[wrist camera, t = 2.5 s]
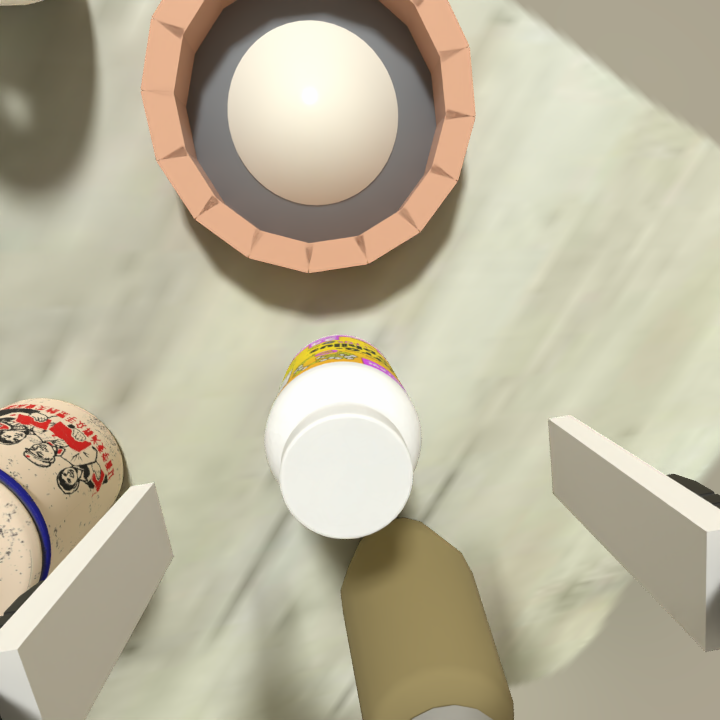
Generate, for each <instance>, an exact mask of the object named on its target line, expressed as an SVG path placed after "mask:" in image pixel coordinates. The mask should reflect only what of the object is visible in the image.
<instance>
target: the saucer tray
mask: <svg viewBox="0 0 720 720" xmlns="http://www.w3.org/2000/svg"><path fill="white" fill-rule="evenodd" d="M152 18H153V19H151V23H150V30H149V37H148V43H147V50H146V57H145V64H144V70H143V77H142V84H141V90H142V91H141V95H142V99H143V103H144V108H145V112H146V117H147V121H148V126H149V130H150V134H151V139H152V143H153V148H154V152H155V157H156V160H157V161H158V162H157V163H158V164H159V166H160V167H161V169H162V170H163V172H164V173H165V175H166V176H167V178H168V179H169V181H170V182H171V184H172V186H173V187H174V189H175V190H176V192H177V193H178V195H179V196H180V198H181V199H182V201H183V202H184V204H185V205H186V207H187V208H188V210H189V211H190V213H191V215H192V216H193V218H194V219H196V221H198V222H199V223H200V224H202V225H203V226H204V227H206V228H207V229H209V230H210V231H211V232H213V233H214V234H216V235H217V236H218V237H220V238H221V239H222V240H224V241H225V242H227V243H228V244H229V245H231V246H232V247H233V248H235V249H236V250H238V251H239V252H240V253H242V254H243V255H245V256H246V257H247V258H250V259H254V260H258V261H262V262H266V263H270V264H274V265H278V266H282V267H286V268H290V269H294V270H298V271H302V272H306V273H313V272H320V271H326V270H333V269H339V268H346V267H353V266H359V265H366V264H369V263H371V262H373V261H374V260H376V259H377V258H379V257H381V256H382V255H384V254H386V253H387V252H389V251H391V250H392V249H394V248H395V247H397V246H399V245H400V244H402V243H404V242H405V241H407V240H409V239H410V238H412V237H413V236H415V235H417V234H418V233H420V232H421V231H422V229H423V228H424V227H425V225H426V224H427V223H428V221H429V220H430V218H431V217H432V216H433V214H434V213H435V212H436V210H437V209H438V208H439V206H440V205H441V203H442V202H443V201H444V199H445V198H446V197H447V195H448V194H449V193H450V191H451V190H452V189H453V187H454V186H455V184H456V183H457V181H458V179H459V175H460V172H461V168H462V165H463V161H464V157H465V154H466V150H467V146H468V143H469V139H470V135H471V132H472V128H473V124H474V121H475V116H476V115H475V103H474V92H473V80H472V69H471V57H470V47H469V44H468V42H467V40H466V38H465V36H464V34H463V31H462V29H461V27H460V25H459V23H458V21H457V19H456V17H455V15H454V12H453V10H452V8H451V6H450V4H449V2H448V0H162V1H161V2H160V4H159V6H158V7H157V9H156V11H155V12H154V14H153V16H152Z"/></svg>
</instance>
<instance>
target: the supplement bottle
mask: <svg viewBox="0 0 720 720" xmlns="http://www.w3.org/2000/svg"><path fill="white" fill-rule="evenodd" d="M264 441H265V453H266V458H267V461H268V465H269V467H270V469H271V472H272V474H273V476H274V477H275V479H276V480H277V482H278V484H279V485H280V489H281V494H282V497H283V499H284V502H285V504H286V506H287V507H288V509H289V511H290V512H291V514H292V515H293V516H294V517H295V518H296V519H297V520H298V521H299V522H300V523H301V524H302V525H303V526H305V527H306V528H308V529H309V530H311V531H313V532H315V533H317V534H320V535H322V536H326V537H330V538H336V539H354V538H360V537H363V536H367V535H370V534H372V533H375V532H377V531H379V530H381V529H382V528H384V527H385V526H387V525H388V524H389V523H390V522H392V521H393V520H394V519H395V518H396V517H397V516H398V514H399V513H400V512H401V511H402V509H403V508H404V506H405V504H406V503H407V501H408V498H409V496H410V493H411V489H412V484H413V473H414V470H415V468H416V465H417V462H418V459H419V455H420V451H421V442H422V438H421V426H420V421H419V417H418V414H417V411H416V409H415V407H414V405H413V403H412V401H411V399H410V397H409V396H408V394H407V393H406V391H405V389H404V388H403V386H402V384H401V383H400V381H399V380H398V378H397V376H396V375H395V373H394V371H393V369H392V368H391V366H390V364H389V363H388V361H387V360H386V358H385V357H384V356H383V354H382V353H381V352H380V351H379V350H378V349H377V348H376V347H375V346H373V345H372V344H371V343H369V342H367V341H365V340H363V339H361V338H358V337H355V336H351V335H340V334H339V335H329V336H325V337H322V338H319V339H317V340H315V341H313V342H311V343H309V344H308V345H306V346H305V347H304V348H303V349H302V350H301V351H300V352H299V353H298V354H297V355H296V356H295V358H294V359H293V360H292V362H291V364H290V366H289V368H288V370H287V372H286V374H285V377H284V379H283V382H282V384H281V386H280V388H279V391H278V394H277V396H276V398H275V400H274V403H273V405H272V407H271V410H270V413H269V417H268V420H267V424H266V429H265V438H264Z"/></svg>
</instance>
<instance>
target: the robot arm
mask: <svg viewBox="0 0 720 720" xmlns="http://www.w3.org/2000/svg"><path fill="white" fill-rule="evenodd" d="M548 426H549V441H550V457H551V472H552V488H553V494H554V495H555V496H556V497H557V498H558V499H559V500H560V502H561V503H562V504H563V505H564V506H565V507H566V508H567V509H568V510H569V511H570V512H571V513H572V514H573V515H574V516H575V517H576V518H577V519H578V520H579V521H580V522H581V523H582V524H583V525H584V526H585V527H586V529H587V530H588V531H589V532H590V533H591V534H592V535H593V536H594V537H595V538H596V539H597V540H598V541H599V542H600V543H601V544H602V545H603V546H604V547H605V548H606V549H607V550H608V551H609V552H610V553H611V555H612V556H613V557H614V558H615V559H616V560H617V561H618V562H619V563H620V564H621V565H622V566H623V567H624V568H625V569H626V570H627V571H628V572H629V573H630V574H631V575H632V576H633V577H634V578H635V579H636V580H637V581H638V583H639V584H640V585H641V586H643V588H644V589H645V590H646V591H647V592H648V593H649V594H650V595H651V596H652V597H653V598H654V599H655V600H656V601H657V602H658V603H659V604H660V605H661V606H662V607H663V608H664V609H665V611H666V612H667V613H668V614H669V615H670V616H671V617H672V618H673V619H674V620H675V621H676V622H677V623H678V624H679V625H680V626H681V627H682V628H683V629H684V630H685V631H686V632H687V633H688V634H689V636H690V637H691V638H692V639H693V640H694V641H695V642H696V643H697V644H698V645H699V646H700V647H701V648H702V649H703V650H704V651H705V652H707V651H713V650H719V649H720V495H718V494H714V492H713V491H712V490H710V489H708V488H707V487H705V486H703V485H702V484H700V483H698V482H696V481H694V480H691V479H688V478H685V477H682V476H679V475H676V474H670V475H665V474H663V473H662V472H660V471H658V470H657V469H655V468H654V467H652V466H651V465H649V464H647V463H646V462H644V461H643V460H641V459H639V458H638V457H636V456H635V455H633V454H632V453H630V452H628V451H627V450H625V449H624V448H622V447H620V446H619V445H617V444H616V443H614V442H613V441H611V440H609V439H608V438H606V437H605V436H603V435H601V434H600V433H598V432H597V431H595V430H594V429H592V428H590V427H589V426H587V425H586V424H584V423H582V422H581V421H579V420H578V419H576V418H574V417H573V416H571V415H567V416H561V417H555V418H549V419H548ZM173 557H174V555H173V551H172V548H171V544H170V540H169V536H168V532H167V529H166V525H165V521H164V517H163V513H162V510H161V506H160V502H159V498H158V494H157V491H156V487H155V483H154V482H153V483H147V484H141V485H135V486H130V488H129V489H128V490H127V491H126V492H125V493H124V494H123V495H122V496H121V497H120V499H119V500H118V501H117V502H116V503H115V504H114V505H113V506H112V507H111V508H110V509H109V511H108V512H107V513H106V514H105V515H104V516H103V517H102V518H101V519H100V520H99V522H98V523H97V524H96V525H95V526H94V527H93V528H92V529H91V530H90V531H89V532H88V534H87V535H86V536H85V537H84V538H83V539H82V540H81V541H80V542H79V543H78V544H77V546H76V547H75V548H74V549H73V550H72V551H71V552H70V553H69V554H68V555H67V557H66V558H65V559H64V560H63V561H62V562H61V563H60V564H59V565H58V566H57V567H56V569H55V570H54V571H53V572H52V573H51V574H50V575H49V576H48V577H47V578H46V579H45V580H42V581H40V582H38V583H37V584H35V585H34V586H33V587H31V588H30V589H29V590H27V591H26V592H24V593H23V594H22V595H20V596H19V597H18V598H17V599H16V600H15V601H14V602H13V603H12V604H11V605H10V607H9V608H8V609H7V610H6V611H5V612H4V615H3V616H0V720H85V719H86V717H87V715H88V713H89V711H90V710H91V708H92V706H93V704H94V702H95V700H96V699H97V697H98V695H99V693H100V691H101V689H102V688H103V686H104V684H105V682H106V680H107V678H108V677H109V675H110V673H111V671H112V669H113V667H114V666H115V664H116V662H117V660H118V658H119V656H120V655H121V653H122V651H123V649H124V647H125V645H126V644H127V642H128V640H129V638H130V636H131V634H132V633H133V631H134V629H135V627H136V625H137V623H138V622H139V620H140V618H141V616H142V614H143V612H144V611H145V609H146V607H147V605H148V603H149V601H150V600H151V598H152V596H153V594H154V592H155V590H156V588H157V587H158V585H159V583H160V581H161V579H162V577H163V576H164V574H165V572H166V570H167V568H168V566H169V565H170V563H171V561H172V559H173Z"/></svg>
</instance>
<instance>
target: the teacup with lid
mask: <svg viewBox="0 0 720 720" xmlns="http://www.w3.org/2000/svg"><path fill="white" fill-rule="evenodd" d="M122 480H123V461H122V456H121V453H120V449H119V447H118V445H117V442H116V441H115V439H114V437H113V436H112V434H111V433H110V431H109V430H108V429H107V428H106V426H105V425H104V424H103V423H102V422H101V421H100V420H98V419H97V418H96V417H95V416H93V415H92V414H91V413H89V412H88V411H86V410H84V409H82V408H80V407H78V406H76V405H73V404H71V403H68V402H64V401H60V400H55V399H46V398H36V399H27V400H22V401H18V402H15V403H12V404H10V405H7V406H5V407H3V408H0V616H3V615H4V612H5V611H6V610H7V609H8V608H9V607H10V605H11V604H12V603H13V602H14V601H15V600H16V599H17V598H18V597H19V596H20V595H22V594H23V593H24V592H26V591H27V590H29V589H30V588H31V587H33V586H34V585H35V584H37V583H38V582H40V581H42V580H45V579H46V578H47V577H48V576H49V575H50V574H51V573H52V572H53V571H54V570H55V569H56V567H57V566H58V565H59V564H60V563H61V562H62V561H63V560H64V559H65V558H66V557H67V555H68V554H69V553H70V552H71V551H72V550H73V549H74V548H75V547H76V546H77V544H78V543H79V542H80V541H81V540H82V539H83V538H84V537H85V536H86V534H87V533H88V532H89V531H90V530H91V529H92V528H93V527H94V526H95V524H96V523H97V522H98V521H99V520H100V519H101V518H102V517H103V515H104V514H105V513H106V512H107V511H108V510H109V509H110V507H111V506H112V505H113V503H114V501H115V500H116V498H117V496H118V494H119V491H120V489H121V485H122Z"/></svg>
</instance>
